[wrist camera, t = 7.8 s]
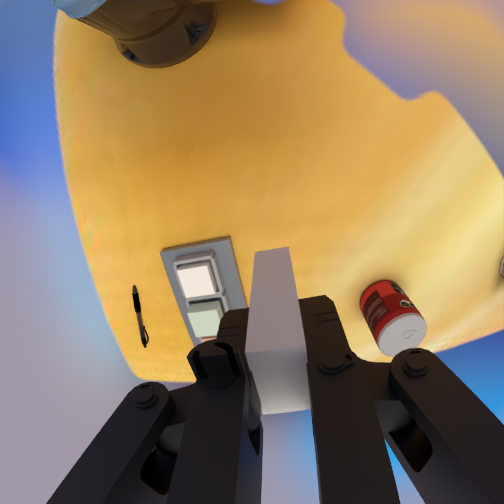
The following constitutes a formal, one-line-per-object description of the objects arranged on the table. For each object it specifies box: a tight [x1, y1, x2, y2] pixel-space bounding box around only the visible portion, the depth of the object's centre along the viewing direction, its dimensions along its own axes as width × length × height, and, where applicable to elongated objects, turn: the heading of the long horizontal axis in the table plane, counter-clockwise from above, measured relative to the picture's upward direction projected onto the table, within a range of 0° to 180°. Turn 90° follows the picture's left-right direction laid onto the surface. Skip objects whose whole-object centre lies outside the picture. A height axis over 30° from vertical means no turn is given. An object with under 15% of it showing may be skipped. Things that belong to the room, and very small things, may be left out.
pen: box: [132, 286, 149, 348], centre depth 49 cm, size 14×2×1 cm, turn 177°
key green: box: [187, 301, 224, 337], centre depth 42 cm, size 4×4×2 cm
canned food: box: [360, 281, 427, 357], centre depth 40 cm, size 8×8×11 cm
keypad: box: [160, 236, 248, 347], centre depth 45 cm, size 21×11×4 cm, turn 12°
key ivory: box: [177, 259, 218, 298], centre depth 41 cm, size 4×4×2 cm
